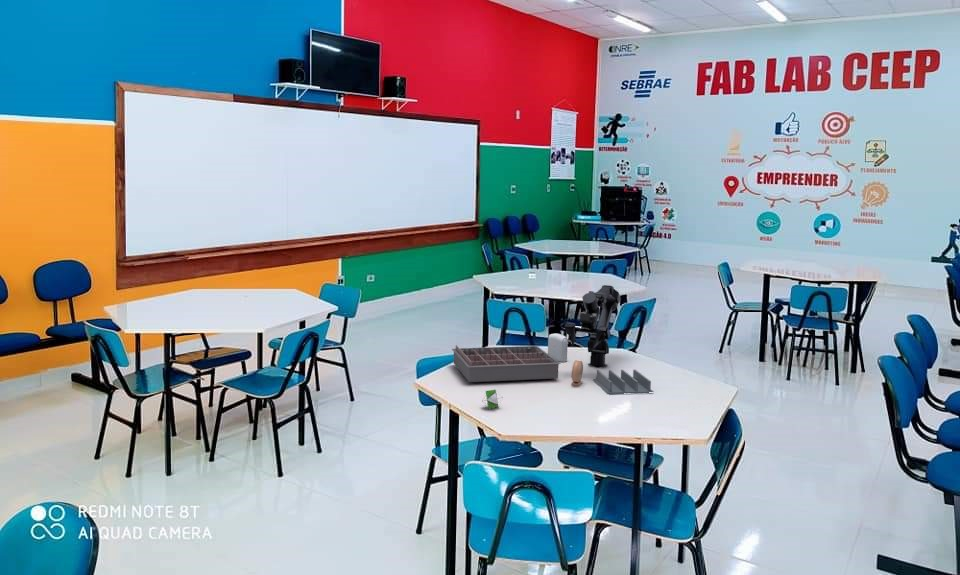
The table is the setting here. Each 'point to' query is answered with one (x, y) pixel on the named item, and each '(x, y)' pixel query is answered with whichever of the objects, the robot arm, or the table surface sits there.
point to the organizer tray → (505, 363)
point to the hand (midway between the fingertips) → (582, 346)
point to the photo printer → (558, 347)
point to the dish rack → (623, 383)
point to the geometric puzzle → (492, 398)
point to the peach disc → (577, 373)
